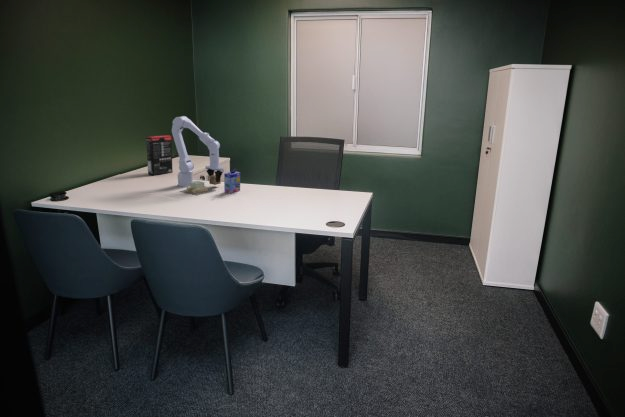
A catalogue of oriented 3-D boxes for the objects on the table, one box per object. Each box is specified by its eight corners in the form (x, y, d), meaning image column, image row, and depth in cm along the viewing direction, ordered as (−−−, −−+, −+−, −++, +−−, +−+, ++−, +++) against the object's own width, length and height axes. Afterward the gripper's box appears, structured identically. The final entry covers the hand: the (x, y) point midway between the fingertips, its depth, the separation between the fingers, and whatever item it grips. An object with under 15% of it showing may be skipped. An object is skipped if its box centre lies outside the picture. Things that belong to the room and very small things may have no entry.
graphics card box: (167, 171, 331) (165, 134, 324) (173, 172, 327) (171, 135, 320) (147, 174, 318) (145, 136, 310) (153, 176, 314) (151, 137, 307)
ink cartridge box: (231, 194, 270) (230, 170, 266) (224, 193, 272) (223, 169, 268) (241, 191, 278) (240, 168, 274) (233, 190, 281) (233, 167, 277)
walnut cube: (209, 183, 284) (209, 176, 283) (215, 182, 288) (214, 174, 287) (214, 184, 282) (214, 177, 280) (220, 183, 286) (220, 175, 284)
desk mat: (178, 192, 271) (178, 191, 271) (198, 187, 284) (198, 186, 284) (196, 196, 263) (196, 195, 263) (216, 191, 276) (216, 190, 276)
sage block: (190, 187, 272) (189, 182, 271) (197, 185, 277) (197, 180, 276) (197, 188, 269) (196, 183, 268) (204, 186, 274) (204, 182, 273)
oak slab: (186, 191, 272) (186, 187, 272) (197, 188, 279) (197, 184, 279) (197, 193, 267) (196, 189, 267) (208, 190, 275) (207, 186, 274)
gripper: (227, 160, 280) (227, 182, 284) (210, 158, 288) (211, 178, 292) (219, 162, 275) (219, 183, 278) (202, 159, 282) (203, 180, 286)
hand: (214, 181), depth 285 cm, fingers closed on walnut cube, 5 cm apart
